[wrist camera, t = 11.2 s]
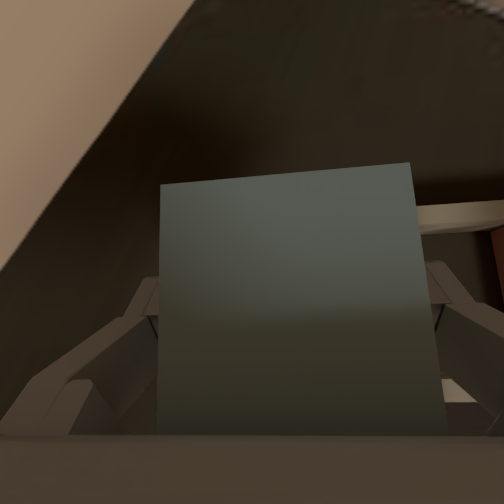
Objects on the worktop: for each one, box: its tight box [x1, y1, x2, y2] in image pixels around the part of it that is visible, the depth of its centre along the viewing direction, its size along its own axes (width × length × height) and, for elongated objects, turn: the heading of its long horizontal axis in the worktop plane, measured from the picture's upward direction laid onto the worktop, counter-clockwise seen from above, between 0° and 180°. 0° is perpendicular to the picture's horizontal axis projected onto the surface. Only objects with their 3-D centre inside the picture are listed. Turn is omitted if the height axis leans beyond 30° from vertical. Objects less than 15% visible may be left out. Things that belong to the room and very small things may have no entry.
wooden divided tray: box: [416, 200, 504, 402], centre depth 19 cm, size 18×11×3 cm, turn 93°
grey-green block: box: [157, 162, 450, 436], centre depth 10 cm, size 5×5×8 cm
